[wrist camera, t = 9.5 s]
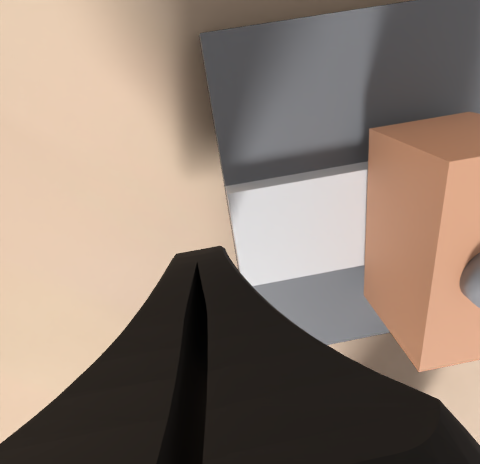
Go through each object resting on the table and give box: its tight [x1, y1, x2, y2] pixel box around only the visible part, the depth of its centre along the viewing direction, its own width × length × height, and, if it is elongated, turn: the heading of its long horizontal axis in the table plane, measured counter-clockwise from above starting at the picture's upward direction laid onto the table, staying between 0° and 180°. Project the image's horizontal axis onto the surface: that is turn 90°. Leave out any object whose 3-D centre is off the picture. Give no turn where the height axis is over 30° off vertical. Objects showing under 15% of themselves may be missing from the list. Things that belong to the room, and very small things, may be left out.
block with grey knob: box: [364, 112, 480, 372], centre depth 10 cm, size 3×6×4 cm, turn 8°
